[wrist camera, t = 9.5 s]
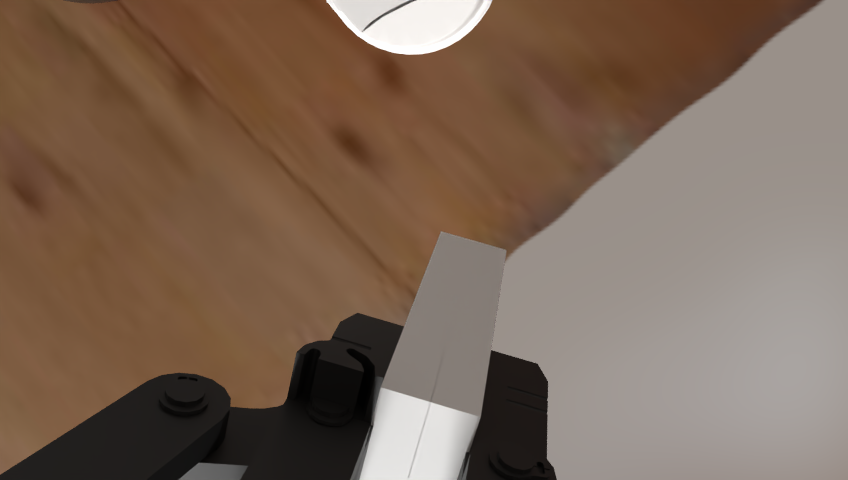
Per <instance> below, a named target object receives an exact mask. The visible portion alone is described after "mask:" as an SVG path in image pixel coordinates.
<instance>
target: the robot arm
mask: <svg viewBox="0 0 848 480" xmlns="http://www.w3.org/2000/svg"><path fill="white" fill-rule="evenodd" d="M65 1H71V2H78V3H103V2H110V1H117V0H65ZM505 257H506V250H504V249H501V248H497V247H494V246H490V245H487V244H483V243H480V242H476V241H473V240H469V239H466V238H463V237H459V236H456V235H452V234H449V233H445V232H442V231H441V233H440V235H439V238H438V241H437V243H436V246H435V248H434V251H433V254H432V256H431V259H430V261H429V264H428V266H427V269H426V272H425V274H424V277H423V279H422V282H421V285H420V287H419V290H418V292H417V295H416V297H415V300H414V303H413V305H412V308H411V310H410V313H409V315H408V318H407V321H406V323H405V326H400V325H397V324H394V323H390V322H387V321H383V320H380V319H377V318H373V317H370V316H366V315H363V314H360V313H356V314H354V315H353V316H351V317H349V318H347V319H345V320H343V321H341V322H340V323H339V325H338V327H337V329H336V331H335V332H334V334H333V336H332V339H331V340H329V341H316V342H313V343H309V344H306V345H304V346H303V347H302V348H301V349H300V350H299V351H297V353H296V358H295V363H294V368H293V372H292V377H291V382H290V387H289V392H288V396H287V399H286V401H285V403H284V404H283V405H281V406H278V407H272V408H265V409H250V408H238V407H230V400H231V398H230V396H229V395H228V393H227V391H226V390H225V388H224V387H222V386H221V385H219V384H218V383H216V382H215V381H214V380H212V379H209V378H206V377H203V376H200V375H197V374H186V373H174V374H167V375H161V376H158V377H156V378H154V379H151V380H149V381H147V382H145V383H144V384H142V385H140V386H139V387H137V388H136V389H134V390H133V391H131V392H129V393H128V394H126V395H125V396H123V397H122V398H120V399H119V400H117V401H115V402H114V403H112V404H111V405H109V406H108V407H106V408H104V409H103V410H101V411H100V412H98V413H97V414H95V415H93V416H92V417H90V418H89V419H87V420H86V421H84V422H82V423H81V424H79V425H78V426H76V427H75V428H73V429H71V430H70V431H68V432H67V433H65V434H64V435H62V436H60V437H59V438H57V439H56V440H54V441H53V442H51V443H50V444H48V445H46V446H45V447H43V448H42V449H40V450H39V451H37V452H35V453H34V454H32V455H31V456H29V457H28V458H26V459H24V460H23V461H21V462H20V463H18V464H17V465H15V466H13V467H12V468H10V469H9V470H7V471H6V472H4V473H2V474H1V475H0V480H557V479H556V475H555V472H554V468H553V466H552V465H551V464H550V463H549V461H548V460H547V407H548V406H547V405H548V404H547V403H548V401H547V398H548V381H547V379H546V377H545V376H544V374H543V372H542V371H541V369H540V367H539V366H538V364H536V363H533V362H529V361H526V360H523V359H519V358H515V357H512V356H509V355H506V354H502V353H499V352H495V351H492V350H491V347H492V341H493V334H494V328H495V321H496V315H497V308H498V301H499V295H500V288H501V282H502V275H503V270H504V263H505Z"/></svg>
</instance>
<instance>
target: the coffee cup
mask: <svg viewBox="0 0 848 480" xmlns="http://www.w3.org/2000/svg"><path fill="white" fill-rule="evenodd" d="M326 1H327V2H328V3H329V5H330V6H331V7H332V8H333V9H334V11H335V12H336V13H337V14H338V15H339V17H340V18H341V19H342V20H343V22H344V23H345V24H346V25H347V26H348V27H349V28H350V29H351V30H352V31H353V32H354V33H355V34H356V35H357V36H359V37H360V38H362V39H363V40H365V41H366V42H368V43H370V44H372V45H374V46H376V47H378V48H380V49H383V50H386V51H390V52H393V53H400V54H407V55H408V54H424V53H429V52H434V51H437V50H440V49H442V48H445V47H448V46H450V45H451V44H453V43H455V42H457V41H458V40H460V39H461V38H462V37H464V36H465V35H466V34H467V33H469V32H470V31H471V30H472V29H473V28H474V27H475V26H476V25H477V23H478V22H479V21H480V20H481V19H482V17H483V16H484V14H485V13H486V11H487V10H488V8H489V6H490V4H491V2H492V0H326Z"/></svg>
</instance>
